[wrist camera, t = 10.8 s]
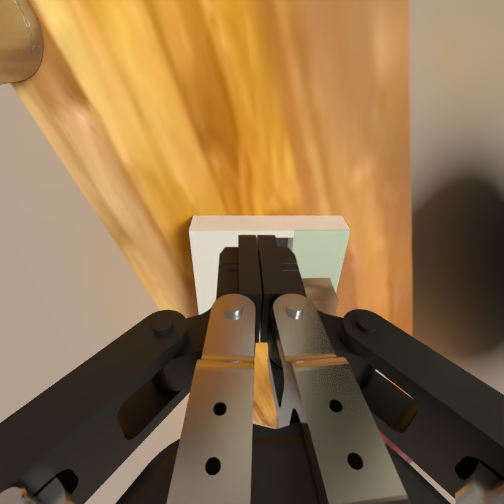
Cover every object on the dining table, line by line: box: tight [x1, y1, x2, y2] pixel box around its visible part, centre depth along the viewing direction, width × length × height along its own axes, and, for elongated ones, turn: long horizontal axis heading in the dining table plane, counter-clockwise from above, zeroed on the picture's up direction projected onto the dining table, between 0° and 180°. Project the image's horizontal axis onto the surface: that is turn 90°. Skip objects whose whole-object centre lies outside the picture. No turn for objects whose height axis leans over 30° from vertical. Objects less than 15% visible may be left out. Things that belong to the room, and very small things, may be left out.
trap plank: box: [189, 216, 350, 338], centre depth 45 cm, size 20×20×4 cm
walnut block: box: [302, 278, 338, 316], centre depth 41 cm, size 4×4×4 cm
